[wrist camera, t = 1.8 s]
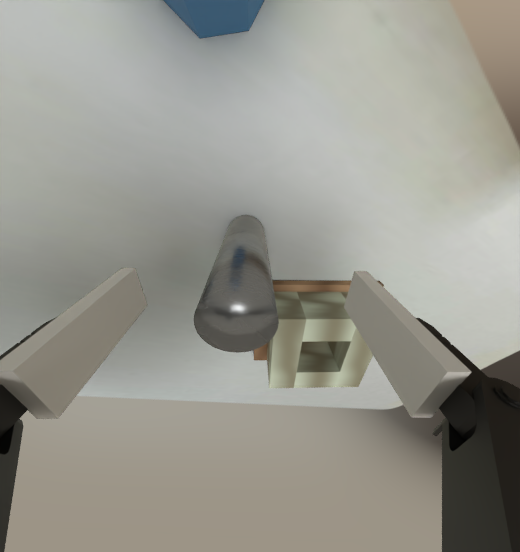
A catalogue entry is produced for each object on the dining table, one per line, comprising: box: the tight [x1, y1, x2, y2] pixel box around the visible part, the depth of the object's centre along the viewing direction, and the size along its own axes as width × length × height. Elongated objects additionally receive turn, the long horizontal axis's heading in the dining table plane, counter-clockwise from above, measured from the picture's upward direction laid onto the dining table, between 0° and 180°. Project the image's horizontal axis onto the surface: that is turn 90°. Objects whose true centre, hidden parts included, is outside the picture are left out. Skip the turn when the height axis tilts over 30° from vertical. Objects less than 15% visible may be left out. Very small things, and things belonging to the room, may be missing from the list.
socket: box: [254, 281, 384, 388], centre depth 26 cm, size 16×14×6 cm
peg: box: [194, 215, 279, 352], centre depth 15 cm, size 4×4×14 cm
